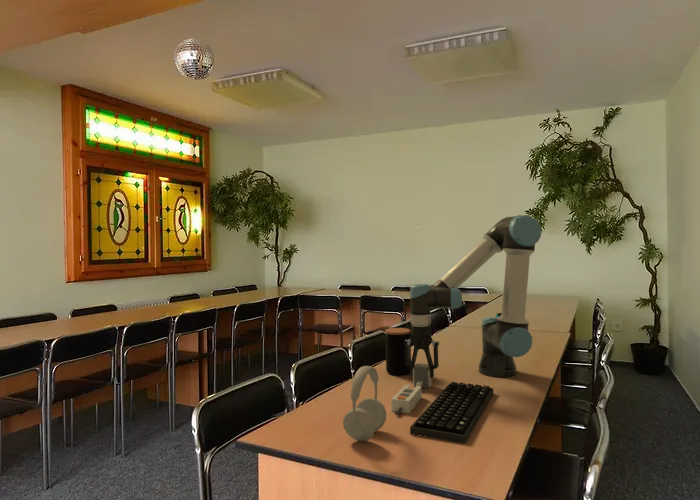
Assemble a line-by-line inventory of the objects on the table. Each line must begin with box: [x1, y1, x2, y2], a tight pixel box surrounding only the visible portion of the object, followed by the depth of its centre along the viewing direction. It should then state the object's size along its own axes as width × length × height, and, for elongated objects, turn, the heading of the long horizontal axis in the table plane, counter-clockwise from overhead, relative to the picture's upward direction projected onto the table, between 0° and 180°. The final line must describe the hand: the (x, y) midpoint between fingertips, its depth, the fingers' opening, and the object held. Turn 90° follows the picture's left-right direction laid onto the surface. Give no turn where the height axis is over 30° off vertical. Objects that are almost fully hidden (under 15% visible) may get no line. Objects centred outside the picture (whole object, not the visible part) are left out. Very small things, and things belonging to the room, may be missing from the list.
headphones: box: [342, 365, 387, 442], centre depth 135 cm, size 19×9×20 cm, turn 157°
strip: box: [390, 384, 423, 416], centre depth 158 cm, size 6×20×5 cm, turn 157°
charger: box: [413, 362, 429, 390], centre depth 177 cm, size 5×9×8 cm, turn 157°
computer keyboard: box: [409, 381, 494, 444], centre depth 152 cm, size 45×16×4 cm, turn 153°
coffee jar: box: [384, 327, 412, 376], centre depth 199 cm, size 11×11×18 cm
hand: (422, 385), depth 179 cm, fingers closed on charger, 5 cm apart
